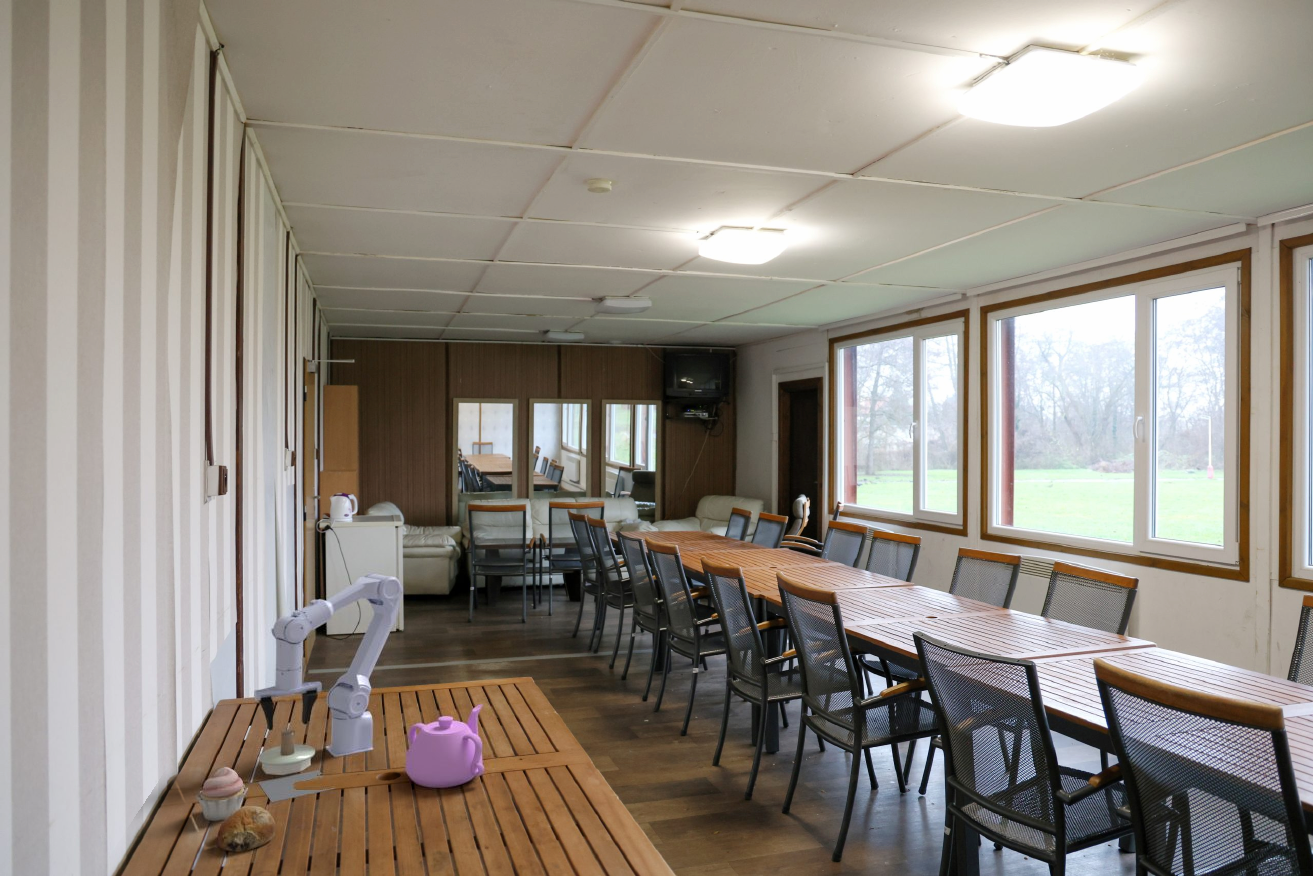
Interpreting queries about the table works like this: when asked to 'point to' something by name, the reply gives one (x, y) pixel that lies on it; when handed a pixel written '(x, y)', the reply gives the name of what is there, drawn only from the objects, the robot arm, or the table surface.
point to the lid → (287, 751)
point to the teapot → (445, 752)
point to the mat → (288, 786)
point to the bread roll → (246, 829)
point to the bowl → (286, 768)
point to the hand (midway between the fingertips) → (287, 726)
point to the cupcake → (222, 795)
